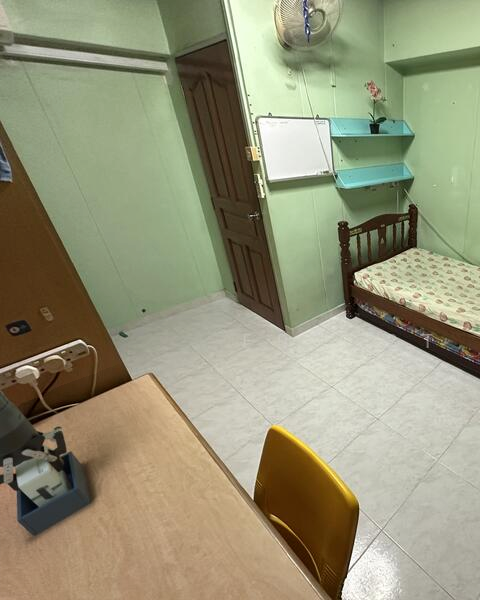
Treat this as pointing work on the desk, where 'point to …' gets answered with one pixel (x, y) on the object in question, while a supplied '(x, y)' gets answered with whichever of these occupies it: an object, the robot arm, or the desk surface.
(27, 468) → the ink box
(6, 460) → the robot arm
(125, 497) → the desk surface
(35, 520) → the bin
